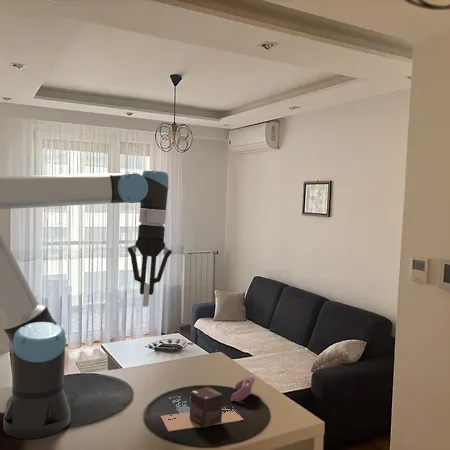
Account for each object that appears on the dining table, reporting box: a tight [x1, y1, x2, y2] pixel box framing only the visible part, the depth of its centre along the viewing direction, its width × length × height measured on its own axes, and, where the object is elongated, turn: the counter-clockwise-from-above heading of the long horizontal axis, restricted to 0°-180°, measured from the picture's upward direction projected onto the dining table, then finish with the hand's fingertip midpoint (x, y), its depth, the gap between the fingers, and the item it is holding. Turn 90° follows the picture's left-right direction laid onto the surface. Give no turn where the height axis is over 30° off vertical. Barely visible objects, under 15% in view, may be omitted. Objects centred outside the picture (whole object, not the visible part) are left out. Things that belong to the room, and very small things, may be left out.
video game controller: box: [230, 374, 256, 403], centre depth 135 cm, size 10×5×7 cm, turn 170°
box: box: [189, 386, 224, 429], centre depth 118 cm, size 6×6×7 cm
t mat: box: [159, 395, 244, 433], centre depth 125 cm, size 18×20×1 cm
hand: (145, 305), depth 135 cm, fingers closed
